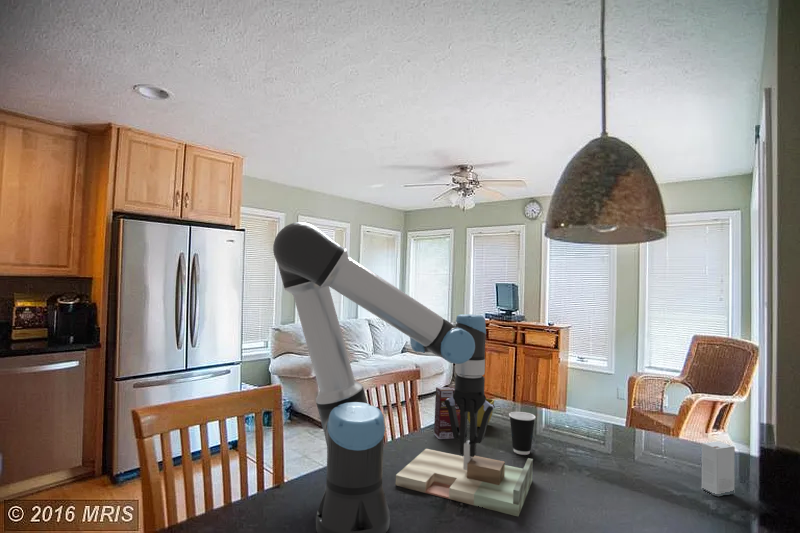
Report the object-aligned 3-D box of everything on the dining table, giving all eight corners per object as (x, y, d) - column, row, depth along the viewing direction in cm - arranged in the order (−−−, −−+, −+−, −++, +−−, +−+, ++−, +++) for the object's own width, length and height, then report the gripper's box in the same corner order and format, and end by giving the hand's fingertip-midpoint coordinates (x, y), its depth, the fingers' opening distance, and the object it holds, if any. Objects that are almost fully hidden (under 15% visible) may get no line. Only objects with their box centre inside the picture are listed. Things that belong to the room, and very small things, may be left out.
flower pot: (494, 424, 158) (494, 399, 158) (488, 431, 150) (489, 404, 150) (470, 420, 161) (471, 396, 162) (464, 426, 153) (465, 401, 154)
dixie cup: (503, 448, 134) (503, 412, 134) (524, 445, 137) (525, 410, 137) (518, 458, 126) (518, 420, 127) (540, 455, 129) (541, 418, 130)
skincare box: (717, 487, 111) (717, 440, 112) (736, 495, 107) (735, 446, 107) (700, 490, 109) (700, 441, 110) (717, 498, 105) (717, 448, 106)
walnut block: (499, 485, 103) (499, 470, 103) (467, 478, 106) (467, 463, 107) (504, 475, 108) (504, 461, 109) (473, 469, 112) (473, 455, 112)
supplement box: (438, 440, 139) (440, 390, 140) (433, 434, 144) (435, 387, 145) (463, 438, 142) (464, 389, 142) (457, 433, 146) (458, 386, 147)
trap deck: (518, 516, 94) (518, 491, 94) (395, 485, 107) (396, 462, 107) (532, 480, 112) (532, 459, 112) (425, 457, 125) (426, 438, 125)
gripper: (498, 375, 111) (496, 468, 110) (450, 369, 117) (448, 457, 115) (491, 380, 104) (489, 479, 103) (440, 374, 110) (438, 468, 109)
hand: (467, 468), depth 109 cm, fingers closed
